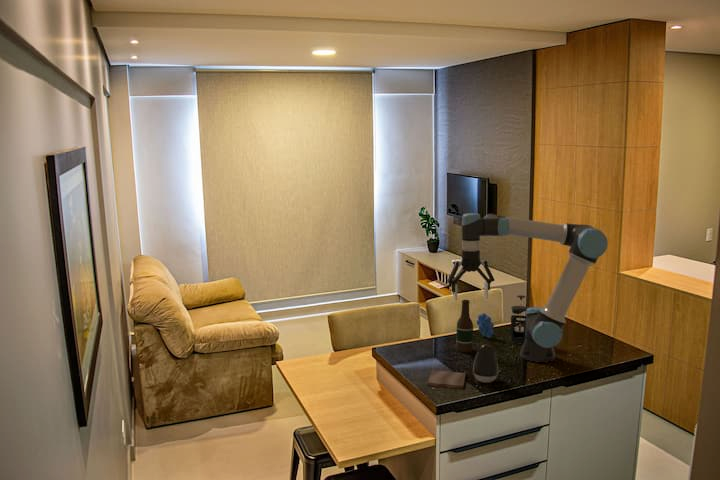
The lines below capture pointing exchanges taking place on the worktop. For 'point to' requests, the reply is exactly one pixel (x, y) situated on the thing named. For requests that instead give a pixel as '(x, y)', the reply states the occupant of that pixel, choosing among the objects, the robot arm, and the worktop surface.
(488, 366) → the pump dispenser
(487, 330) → the grapes
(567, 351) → the worktop surface
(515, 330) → the french press
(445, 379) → the walnut board
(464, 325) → the beer bottle
